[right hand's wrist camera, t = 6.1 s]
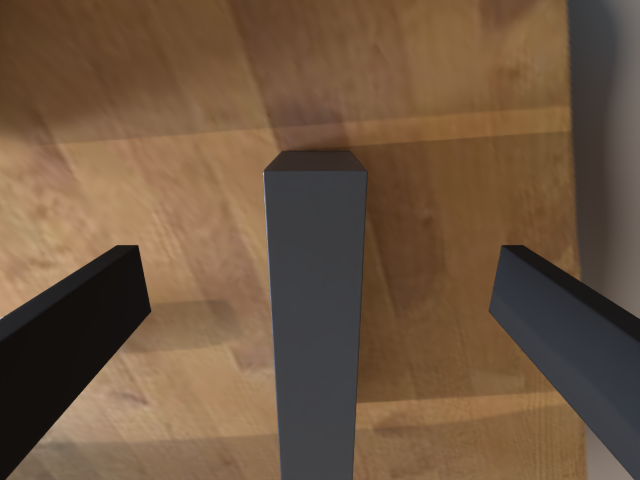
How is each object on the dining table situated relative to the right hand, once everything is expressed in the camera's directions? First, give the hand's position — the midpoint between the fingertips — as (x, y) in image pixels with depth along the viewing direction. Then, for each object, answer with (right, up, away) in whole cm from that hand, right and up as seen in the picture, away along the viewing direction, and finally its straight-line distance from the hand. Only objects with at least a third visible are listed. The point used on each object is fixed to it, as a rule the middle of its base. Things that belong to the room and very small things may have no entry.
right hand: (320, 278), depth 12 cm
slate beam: (0, -3, +16) cm, 17 cm away
